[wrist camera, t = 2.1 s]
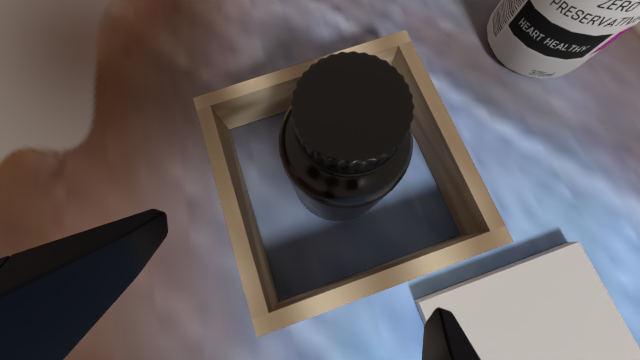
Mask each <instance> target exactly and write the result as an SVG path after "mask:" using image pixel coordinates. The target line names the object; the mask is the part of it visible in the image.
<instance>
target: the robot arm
mask: <svg viewBox="0 0 640 360" xmlns="http://www.w3.org/2000/svg"><path fill="white" fill-rule="evenodd" d="M167 233H168V224H167V215H166V213H165V212H163V211H160V210H157V209H150V210H147V211H144V212H141V213H138V214H135V215H132V216H129V217H126V218H123V219H120V220H117V221H114V222H111V223H107V224H104V225H101V226H98V227H95V228H92V229H89V230H86V231H83V232H80V233H77V234H74V235H71V236H68V237H65V238H62V239H59V240H55V241H52V242H49V243H46V244H43V245H40V246H37V247H34V248H31V249H28V250H25V251H22V252H19V253H16V254H13V255H11V256H6V257H3V258H0V360H63V359H64V358H65V357H66V356H67V355H68V354H69V353H70V352H71V350H72V349H73V348H74V347H75V346H76V345H77V344H78V343H79V341H80V340H81V339H82V338H83V337H84V336H85V335H86V334H87V332H88V331H89V330H90V329H91V328H92V327H93V326H94V325H95V323H96V322H97V321H98V320H99V319H100V318H101V317H102V316H103V314H104V313H105V312H106V311H107V310H108V309H109V308H110V307H111V305H112V304H113V303H114V302H115V301H116V300H117V299H118V298H119V296H120V295H121V294H122V293H123V292H124V291H125V290H126V289H127V287H128V286H129V285H130V284H131V283H132V282H133V281H134V279H135V278H136V277H137V276H138V275H139V273H140V272H141V271H142V269H143V268H144V267H145V265H146V264H147V263H148V261H149V260H150V258H151V257H152V256H153V254H154V253H155V252H156V250H157V249H158V247H159V246H160V245H161V243H162V242H163V241H164V239H165V238H166V236H167ZM422 360H481V359H480V357H479V356H478V354H477V352H476V351H475V349H474V347H473V346H472V344H471V342H470V341H469V339H468V338H467V336H466V334H465V333H464V331H463V329H462V328H461V326H460V324H459V323H458V321H457V319H456V318H455V316H454V314H453V313H452V312H451V311H449V310H446V309H443V308H440V307H437V308H436V309H435V310H434V311H433V313H432V314H431V316H430V317H429V318H428V320H427V321H426V323H425V326H424V336H423V350H422Z"/></svg>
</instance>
